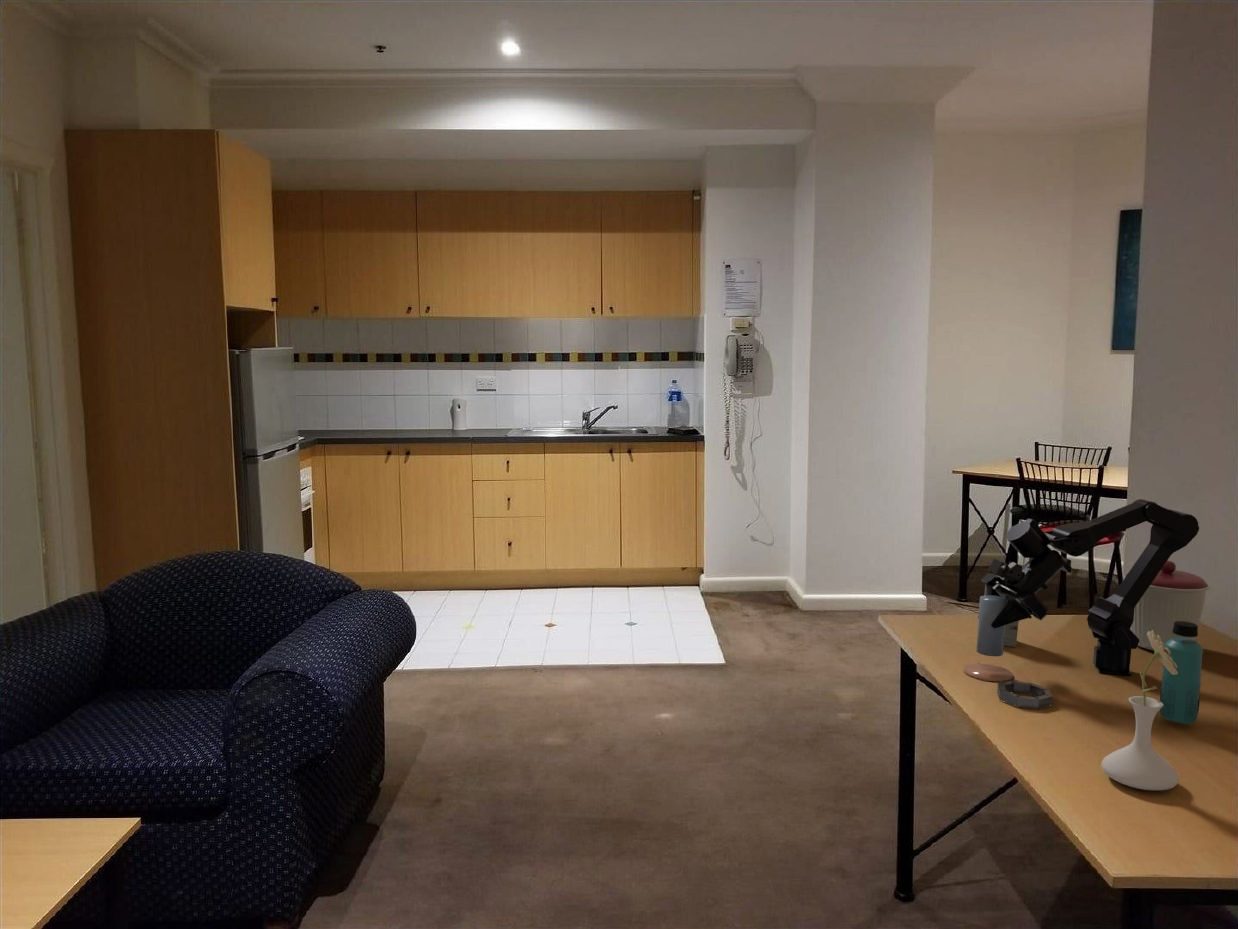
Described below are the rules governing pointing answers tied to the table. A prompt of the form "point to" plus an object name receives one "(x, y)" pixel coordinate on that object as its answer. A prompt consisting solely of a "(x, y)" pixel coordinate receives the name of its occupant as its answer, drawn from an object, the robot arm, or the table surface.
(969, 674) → the terracotta coaster
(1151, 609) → the canister
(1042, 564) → the robot arm
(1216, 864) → the table surface
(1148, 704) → the flower in vase
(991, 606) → the blue-grey cylinder
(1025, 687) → the dark grey octagonal ring
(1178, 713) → the beverage bottle
